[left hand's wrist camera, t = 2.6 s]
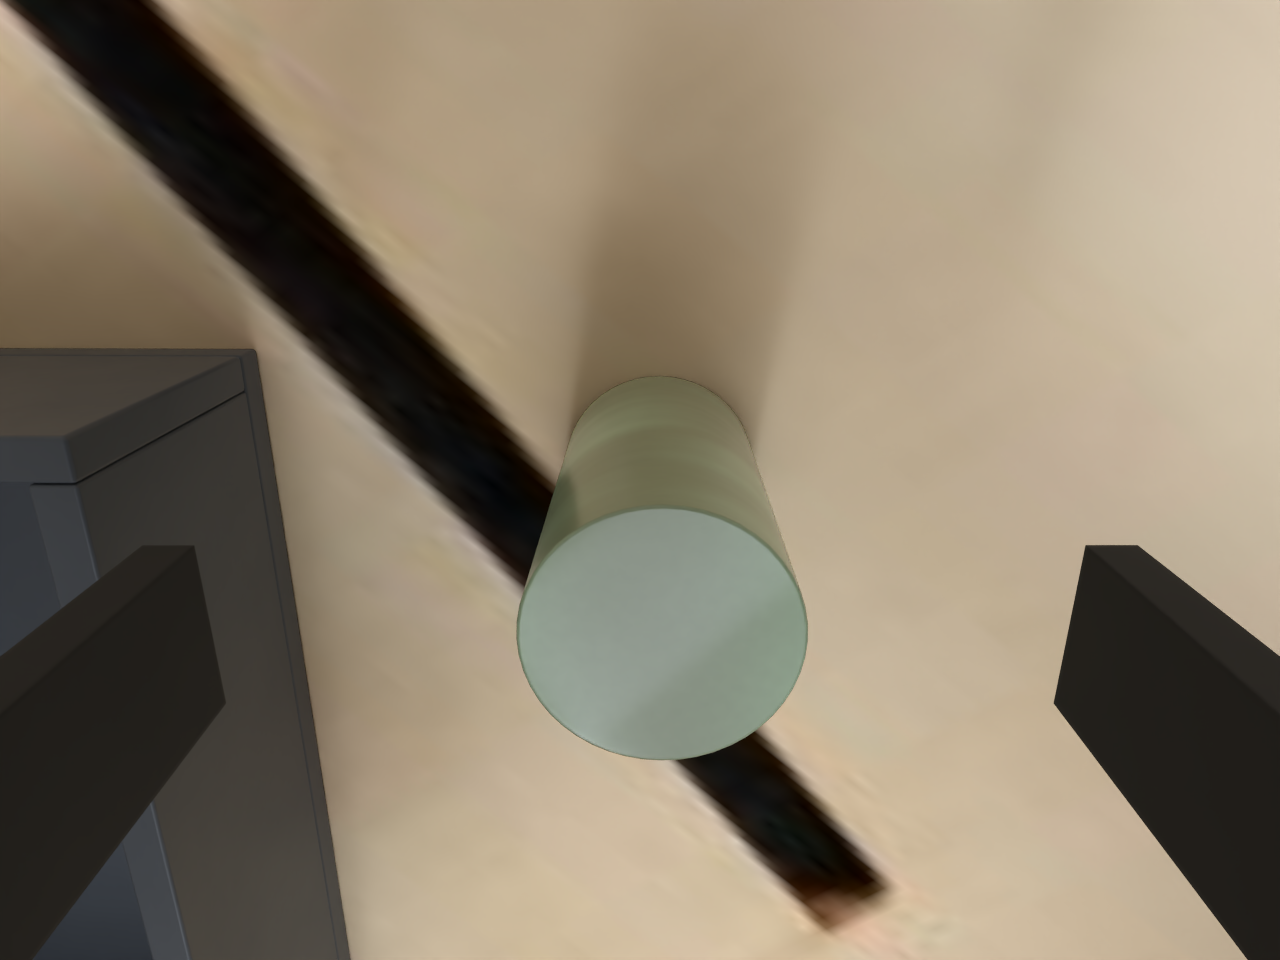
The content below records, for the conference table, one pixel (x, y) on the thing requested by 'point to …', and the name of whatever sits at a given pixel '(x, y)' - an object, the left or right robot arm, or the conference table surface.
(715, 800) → the conference table surface
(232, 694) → the bin
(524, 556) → the conference table surface
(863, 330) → the conference table surface
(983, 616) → the conference table surface
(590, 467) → the peg
